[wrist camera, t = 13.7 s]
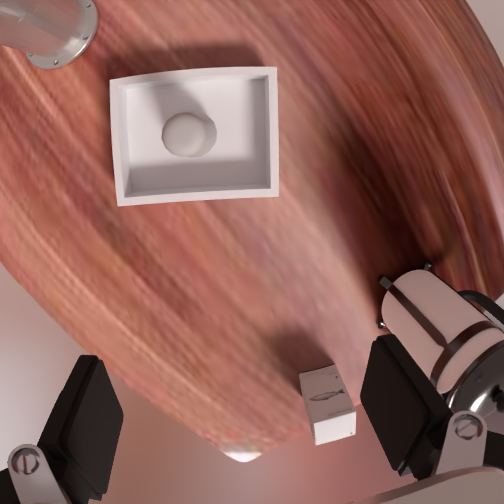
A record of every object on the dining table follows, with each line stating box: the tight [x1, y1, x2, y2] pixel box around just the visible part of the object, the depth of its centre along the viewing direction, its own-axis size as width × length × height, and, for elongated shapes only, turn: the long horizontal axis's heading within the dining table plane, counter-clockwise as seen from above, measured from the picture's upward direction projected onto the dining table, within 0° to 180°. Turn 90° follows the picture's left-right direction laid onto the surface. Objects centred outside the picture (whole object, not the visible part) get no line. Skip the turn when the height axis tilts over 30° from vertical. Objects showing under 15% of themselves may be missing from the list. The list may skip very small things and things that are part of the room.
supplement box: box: [299, 364, 356, 445], centre depth 51 cm, size 7×7×13 cm
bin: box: [110, 67, 279, 206], centre depth 38 cm, size 16×20×5 cm
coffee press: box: [378, 261, 504, 418], centre depth 38 cm, size 17×16×30 cm
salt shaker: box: [161, 111, 217, 158], centre depth 33 cm, size 6×6×13 cm
